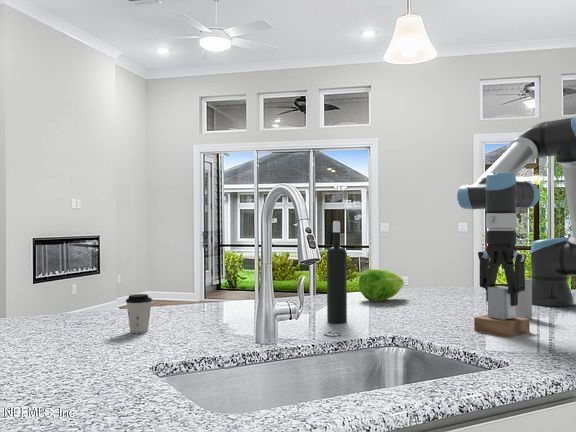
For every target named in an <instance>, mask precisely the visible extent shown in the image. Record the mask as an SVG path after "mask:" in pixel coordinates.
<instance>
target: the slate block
mask: <svg viewBox="0 0 576 432" xmlns="http://www.w3.org/2000/svg"><path fill="white" fill-rule="evenodd" d="M508 292H509V289H508V286H504V285H503V286H502V285H497V286H496V285H495V286H494V287H488V302H487V315H488V317H492V318H497V319H503V320H505V319H512V318H507V300H506V293H508ZM515 318H516V317H515Z"/></svg>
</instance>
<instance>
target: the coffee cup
mask: <svg viewBox="0 0 576 432" xmlns="http://www.w3.org/2000/svg"><path fill="white" fill-rule="evenodd" d="M152 301H153V299H152V297H150V296H149V294H145V293H140V294H139V293H137V294H130V295H128V298H126V300H125V302H126V308H127V316H128V317H127V318H128V326H129V331H130V332H131V333H130V332H129V333H130V334H132V333H136V334H135V335H139V334H138V333H142V334H147V333H148V331H149V326H150V325H149V323H150V316H151V314H150V313H151V308H152ZM146 332H147V333H146Z"/></svg>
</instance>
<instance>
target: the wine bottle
mask: <svg viewBox="0 0 576 432" xmlns="http://www.w3.org/2000/svg"><path fill="white" fill-rule="evenodd" d="M332 235H333V236H332V237H333V241H332V243H333V244H332V245H333V246H332V247H329V248H328V249H327V252H326V286H327V287H326V295H327V296H326V310H327V311H326V312H327V313H326V318H327V319H326V320H327V321H326V322H327V323H330V324H335V325H339V324H346V323H347V322H348V315H347V314H348V313H347V312H348V309H347V308H348V302H347V301H348V300H347V299H348V296H347V294H348V291H347V289H348V288H347V287H348V285H347V282H348V281H347V275H348V274H347V267H348V266H347V250H346V249H345V248H344V247H341V222H340V220H333V222H332Z"/></svg>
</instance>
